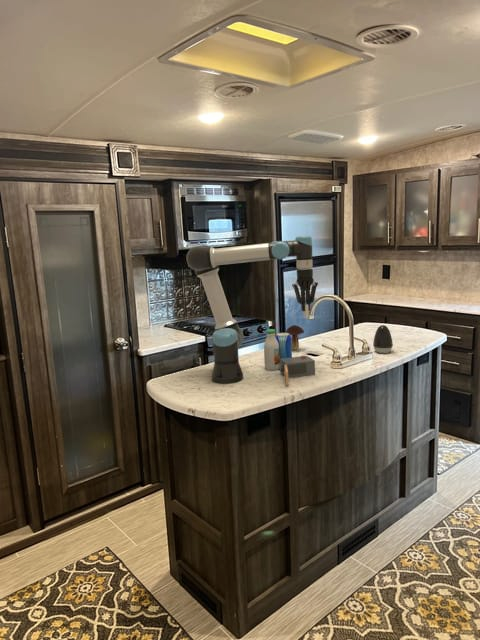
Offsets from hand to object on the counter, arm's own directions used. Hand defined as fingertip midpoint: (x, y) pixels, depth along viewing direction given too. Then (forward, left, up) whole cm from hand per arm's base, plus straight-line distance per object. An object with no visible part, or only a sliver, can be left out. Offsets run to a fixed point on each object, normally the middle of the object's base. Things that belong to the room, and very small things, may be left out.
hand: (306, 317), depth 225 cm
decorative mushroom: (+8, +39, -27) cm, 48 cm away
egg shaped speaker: (+50, +15, -27) cm, 59 cm away
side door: (-16, -15, -26) cm, 34 cm away
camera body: (-7, -3, -26) cm, 27 cm away
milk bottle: (-15, +10, -27) cm, 32 cm away
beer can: (-7, +15, -27) cm, 31 cm away
